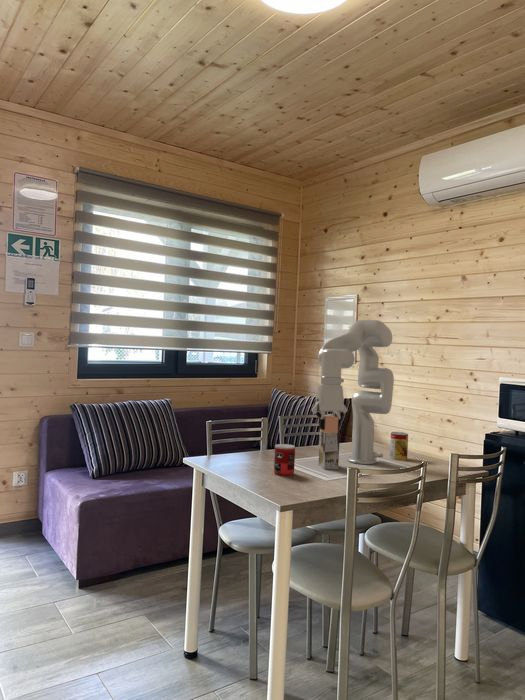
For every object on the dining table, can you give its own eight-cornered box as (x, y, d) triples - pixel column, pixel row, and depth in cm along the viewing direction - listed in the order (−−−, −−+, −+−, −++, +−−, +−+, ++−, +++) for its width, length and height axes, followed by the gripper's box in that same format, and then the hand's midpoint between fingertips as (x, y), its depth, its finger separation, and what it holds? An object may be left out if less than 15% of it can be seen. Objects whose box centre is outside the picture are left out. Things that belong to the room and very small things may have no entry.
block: (332, 430, 203) (332, 415, 203) (337, 433, 198) (338, 417, 198) (320, 430, 201) (320, 415, 201) (325, 433, 196) (326, 417, 196)
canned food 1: (272, 471, 209) (273, 443, 209) (292, 471, 210) (293, 444, 210) (274, 475, 202) (276, 447, 202) (295, 476, 202) (296, 447, 202)
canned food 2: (410, 460, 242) (411, 434, 242) (396, 460, 240) (397, 434, 240) (400, 456, 250) (401, 431, 250) (386, 457, 247) (387, 431, 247)
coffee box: (338, 469, 217) (340, 430, 217) (323, 469, 216) (325, 430, 216) (332, 464, 226) (334, 427, 226) (318, 464, 225) (319, 426, 225)
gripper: (346, 381, 206) (344, 427, 206) (306, 380, 201) (304, 427, 201) (355, 382, 198) (353, 430, 199) (314, 382, 193) (312, 431, 193)
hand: (328, 428), depth 200 cm, fingers closed on block, 5 cm apart
